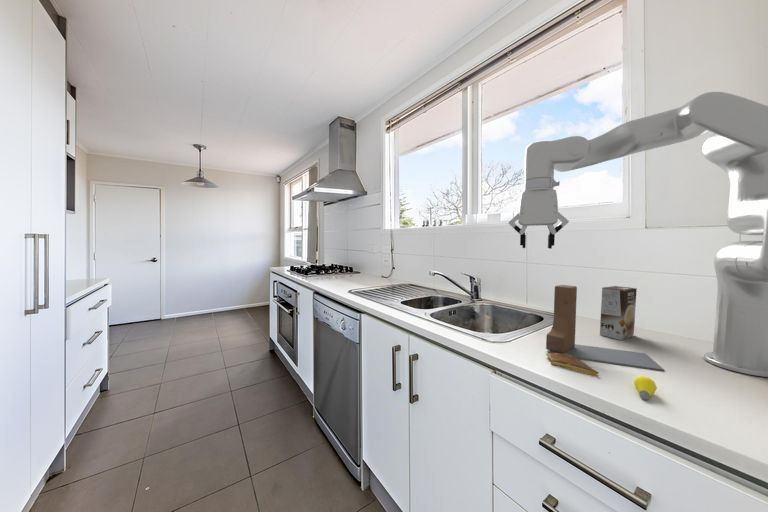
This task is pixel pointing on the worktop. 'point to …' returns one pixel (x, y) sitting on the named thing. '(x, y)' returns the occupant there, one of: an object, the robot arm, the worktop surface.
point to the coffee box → (618, 312)
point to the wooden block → (563, 320)
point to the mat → (613, 356)
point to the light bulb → (645, 386)
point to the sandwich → (570, 363)
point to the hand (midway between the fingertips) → (536, 247)
